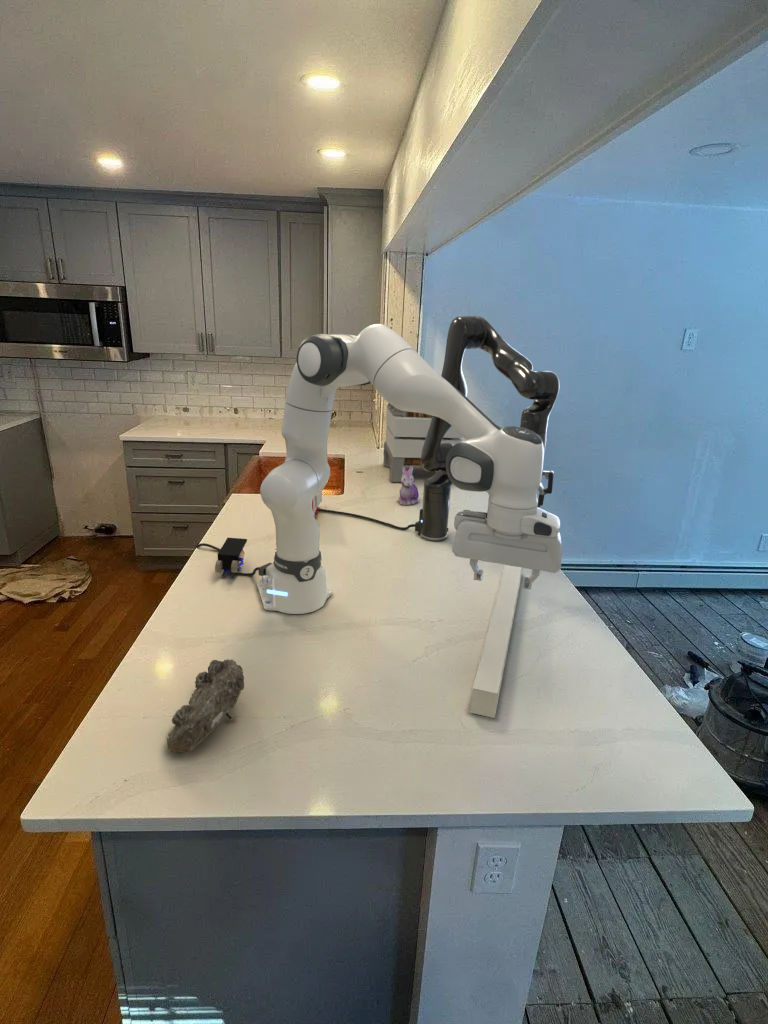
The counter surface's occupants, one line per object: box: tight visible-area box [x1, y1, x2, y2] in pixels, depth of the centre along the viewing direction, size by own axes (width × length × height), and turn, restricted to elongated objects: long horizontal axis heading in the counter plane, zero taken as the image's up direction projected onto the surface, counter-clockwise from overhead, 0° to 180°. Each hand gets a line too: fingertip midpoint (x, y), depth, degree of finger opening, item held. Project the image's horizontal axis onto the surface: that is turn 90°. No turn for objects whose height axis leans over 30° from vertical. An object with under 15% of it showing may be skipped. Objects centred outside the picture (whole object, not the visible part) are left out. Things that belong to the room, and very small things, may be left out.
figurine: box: [398, 466, 420, 506], centre depth 230 cm, size 9×10×15 cm
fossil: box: [166, 658, 245, 754], centre depth 106 cm, size 22×10×15 cm
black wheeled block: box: [214, 537, 248, 578], centre depth 166 cm, size 7×8×15 cm
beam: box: [469, 565, 524, 719], centre depth 141 cm, size 68×5×6 cm, turn 163°
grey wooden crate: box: [383, 402, 464, 483], centre depth 268 cm, size 34×33×41 cm
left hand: (502, 583), depth 109 cm, fingers open, 8 cm apart
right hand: (522, 504), depth 157 cm, fingers open, 8 cm apart
